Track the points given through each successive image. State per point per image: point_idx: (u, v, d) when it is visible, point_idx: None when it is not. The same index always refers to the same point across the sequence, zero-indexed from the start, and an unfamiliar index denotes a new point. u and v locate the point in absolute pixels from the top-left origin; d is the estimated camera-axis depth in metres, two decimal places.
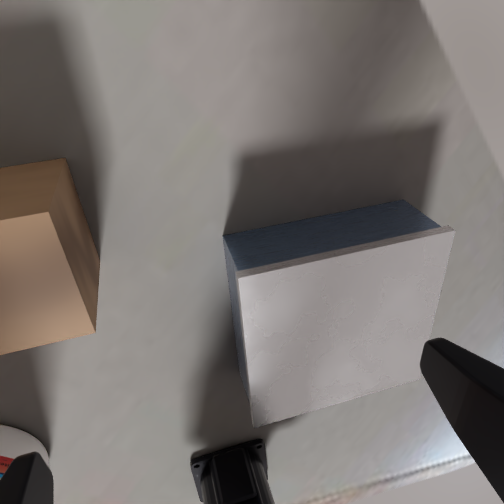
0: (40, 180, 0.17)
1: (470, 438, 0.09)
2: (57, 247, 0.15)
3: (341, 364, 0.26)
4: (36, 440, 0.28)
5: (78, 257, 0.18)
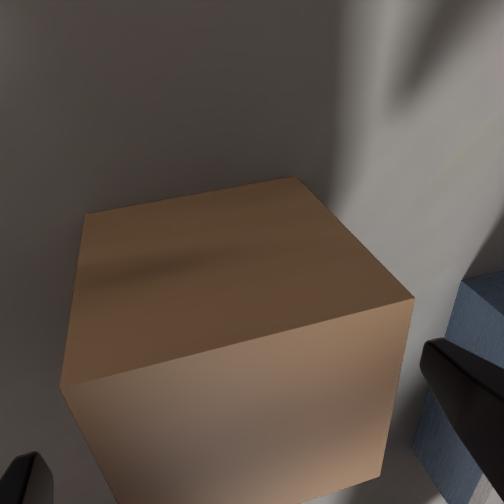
0: (304, 220, 0.10)
1: (470, 438, 0.09)
2: (396, 358, 0.08)
3: None
4: None
5: None
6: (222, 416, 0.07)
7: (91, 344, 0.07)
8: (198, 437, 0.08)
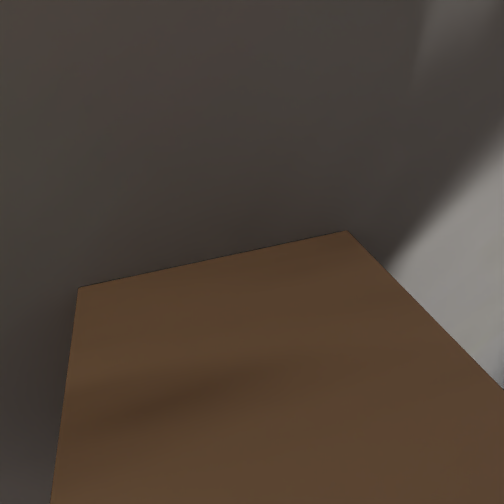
0: (377, 309, 0.07)
1: None
2: None
3: None
4: None
5: None
6: None
7: None
8: None
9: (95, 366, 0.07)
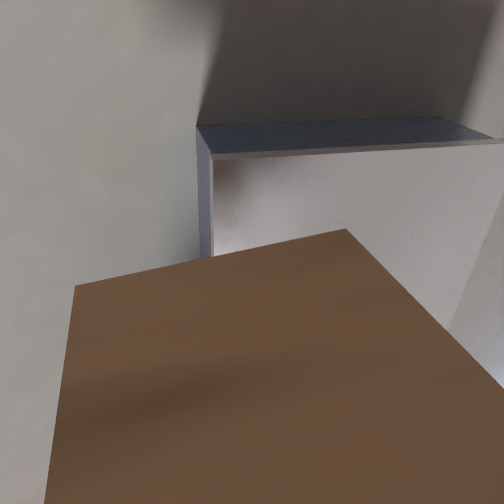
0: (376, 307, 0.07)
1: None
2: None
3: None
4: None
5: None
6: None
7: None
8: None
9: (91, 364, 0.06)
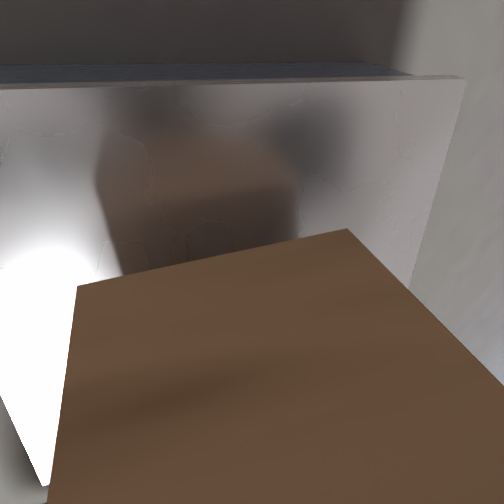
0: (378, 306, 0.07)
1: None
2: None
3: None
4: None
5: None
6: None
7: None
8: None
9: (93, 364, 0.06)
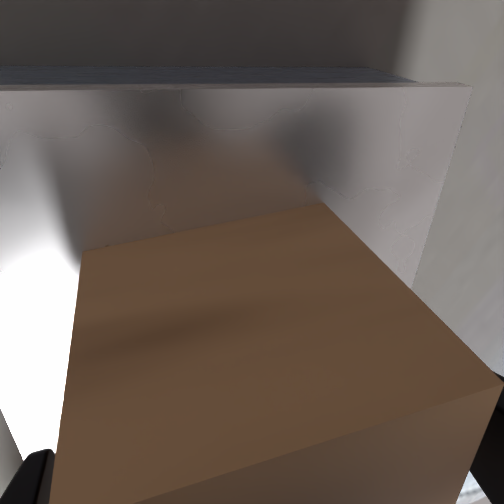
0: (344, 263, 0.08)
1: None
2: (470, 448, 0.06)
3: None
4: None
5: None
6: None
7: (90, 454, 0.05)
8: None
9: (98, 310, 0.08)
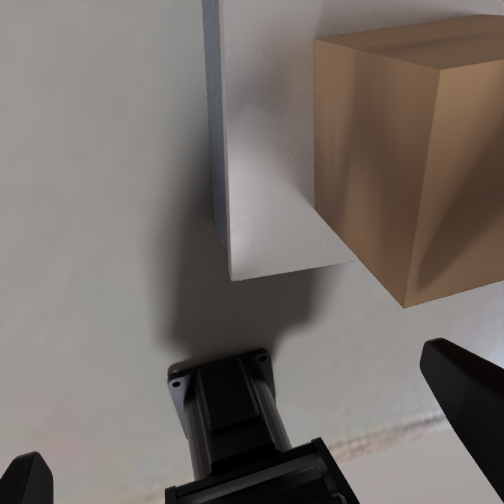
0: None
1: (470, 438, 0.09)
2: None
3: None
4: None
5: None
6: None
7: (434, 60, 0.08)
8: (494, 161, 0.09)
9: (364, 45, 0.11)
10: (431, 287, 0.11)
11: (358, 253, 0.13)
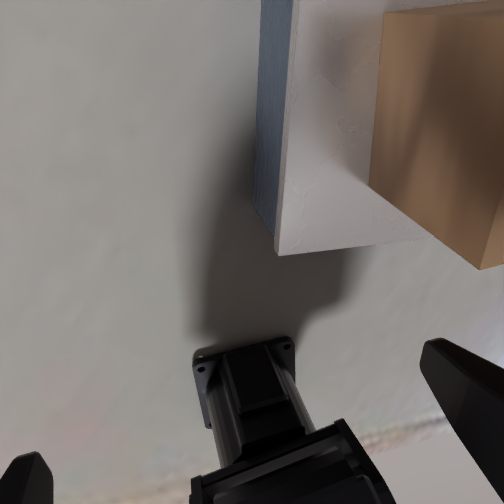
0: None
1: (470, 438, 0.09)
2: None
3: None
4: None
5: None
6: None
7: None
8: None
9: (444, 13, 0.11)
10: None
11: (423, 223, 0.13)
